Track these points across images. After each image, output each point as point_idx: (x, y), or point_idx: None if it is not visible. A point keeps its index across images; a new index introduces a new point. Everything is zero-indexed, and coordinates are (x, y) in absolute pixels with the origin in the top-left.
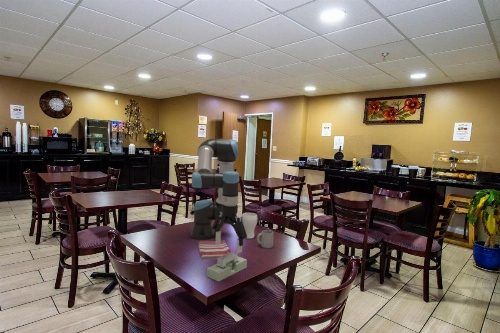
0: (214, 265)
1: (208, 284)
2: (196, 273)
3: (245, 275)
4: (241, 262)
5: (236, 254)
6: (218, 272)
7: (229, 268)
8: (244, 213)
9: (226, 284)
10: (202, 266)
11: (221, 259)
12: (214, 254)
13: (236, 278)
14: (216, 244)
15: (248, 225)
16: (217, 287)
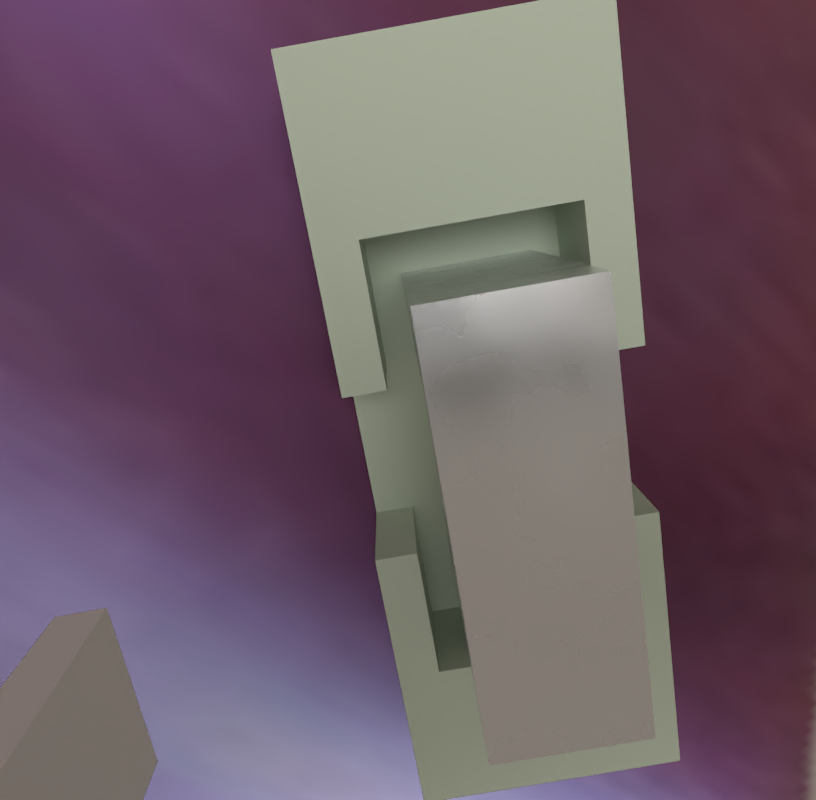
0: (420, 675)
1: (602, 786)
2: (260, 760)
3: (762, 267)
4: (628, 193)
5: (611, 307)
6: (665, 754)
7: (655, 530)
8: None
9: (754, 633)
10: (101, 600)
11: (603, 741)
12: None
13: (732, 437)
14: (138, 783)
15: None
16: (730, 747)
